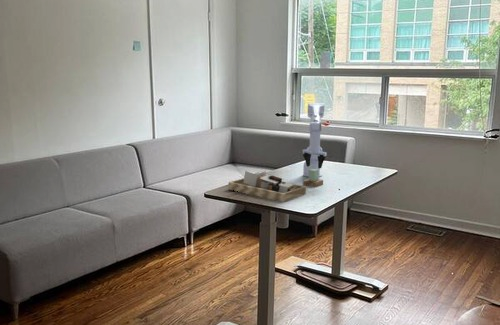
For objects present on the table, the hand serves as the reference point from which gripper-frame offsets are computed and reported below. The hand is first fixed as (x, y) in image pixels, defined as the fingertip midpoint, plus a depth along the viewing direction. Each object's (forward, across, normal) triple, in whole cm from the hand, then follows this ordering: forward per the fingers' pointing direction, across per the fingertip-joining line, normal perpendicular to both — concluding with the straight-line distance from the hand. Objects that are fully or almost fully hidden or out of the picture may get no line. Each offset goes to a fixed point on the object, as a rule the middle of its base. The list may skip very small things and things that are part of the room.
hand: (313, 167), depth 267 cm
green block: (+7, 0, 0) cm, 7 cm away
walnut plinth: (+10, 0, 0) cm, 10 cm away
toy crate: (+10, -10, -30) cm, 33 cm away
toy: (+10, -8, -28) cm, 31 cm away
